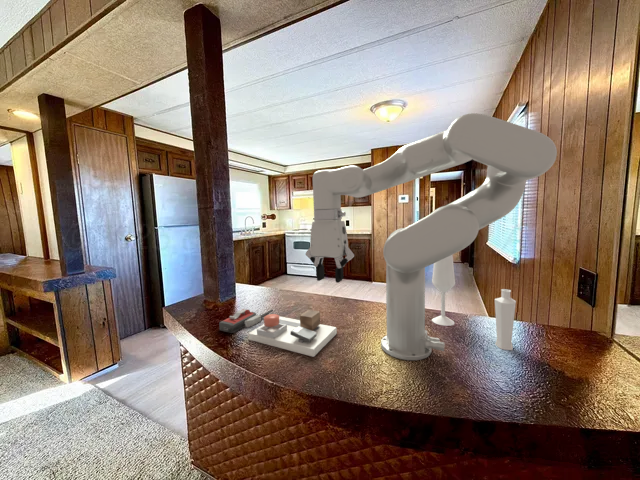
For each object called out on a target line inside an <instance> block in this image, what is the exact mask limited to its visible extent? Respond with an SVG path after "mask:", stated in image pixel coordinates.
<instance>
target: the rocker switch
mask: <svg viewBox="0 0 640 480" xmlns="http://www.w3.org/2000/svg"><path fill="white" fill-rule="evenodd" d="M290 335H292V336H295V337H297V338H299V339H302V340H304V341H306V342H311V341H312V340H313V339H314V338H315V337H316V336H317V333H316V332H314V331H311V330H309V329H306V328H304V327H301V326H297V327H296V328H295V329H293V330H292V331H291V334H290Z"/></svg>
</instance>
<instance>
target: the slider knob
mask: <svg viewBox="0 0 640 480" xmlns="http://www.w3.org/2000/svg"><path fill="white" fill-rule="evenodd" d="M299 320H300V326H301V327H304V328H306V329H309V330H311V331H313V330H314V329H315V328H316V327H317V326H319V325H320V324H321V312H320V311H319V310H313V309H307V310H306V311H304V312H303V313H301V314H300V315H299Z"/></svg>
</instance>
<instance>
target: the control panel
mask: <svg viewBox="0 0 640 480" xmlns="http://www.w3.org/2000/svg"><path fill="white" fill-rule="evenodd" d="M297 326H300V319H295V318H290V317H284V316H280V315H279V324H278V325H276V326H273V327H267V326H265V325H264V324H262V325H260V326H258V327H257V328H255V329H253V330H252V331H249V333H248V340H249V341H253V342H257V343H260V344H265V345H267V346H272V347H275V348H279V349H283V350H286V351H290V352H293V353H298V354H302V355H306V356H309V357H316V355H317V354H318V353H319V352H321V350H322V349H323V348H324V347H326V345H327V344H328V343H330V341H332V339H333V338H334V337H335V336H336V335H337V331H338V330H337V327H336V326H333V325H332V326H331V325H327V324H323V323H322V324H321V323H320V325H319V326H317V327H316V328H315V329H314V330H313V331H314V332H316V333H317V336H316V337H315V338H314V339H313V340H312V341H311V342H306V341H304V340H302V339H299V338H297V337H295V336H292V335H290V334H291V331H292V330H293V329H295V328H296V327H297Z"/></svg>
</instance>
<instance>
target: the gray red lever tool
mask: <svg viewBox="0 0 640 480" xmlns="http://www.w3.org/2000/svg"><path fill="white" fill-rule="evenodd" d="M272 312H274V309H269V310H267V311H266V312H264V313H262V314H260V315H258V314H257V313H256V312H254V311H250V310H249V309H245V308H242V309H241V310H237V311H235V314H233V315H229V317H228V318H226V319H224V320H221V321H219V322H218V325H219V331H222V332H226V333H229V334H232V333H233V334H234V333H236V332H237V331H240V330H242V329H243V328H249V327H252V326H254V325H256V324H258V323H260V322H262V319H264V317H265V316H266V315H269V314H271V313H272Z"/></svg>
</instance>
